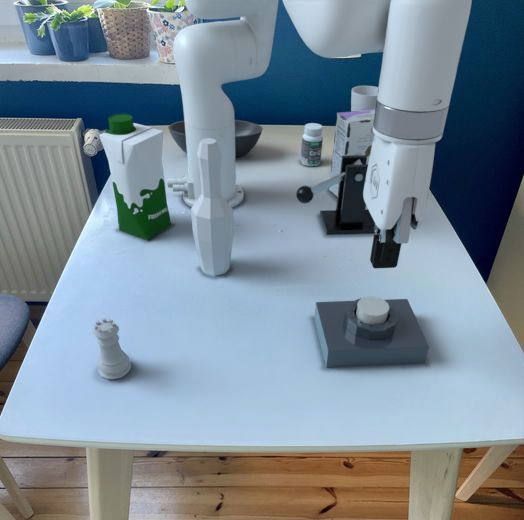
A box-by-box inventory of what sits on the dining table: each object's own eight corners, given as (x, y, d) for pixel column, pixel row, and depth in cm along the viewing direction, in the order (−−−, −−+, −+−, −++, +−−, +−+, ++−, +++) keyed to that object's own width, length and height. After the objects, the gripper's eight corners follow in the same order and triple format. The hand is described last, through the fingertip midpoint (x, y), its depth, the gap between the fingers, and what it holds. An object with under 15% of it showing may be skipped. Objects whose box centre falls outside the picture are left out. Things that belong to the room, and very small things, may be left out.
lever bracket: (326, 236, 101) (333, 170, 93) (319, 216, 107) (325, 152, 99) (378, 235, 102) (390, 169, 94) (368, 214, 108) (379, 151, 99)
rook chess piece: (100, 359, 75) (89, 314, 70) (133, 358, 76) (124, 313, 70) (96, 382, 72) (83, 336, 67) (130, 380, 72) (120, 335, 67)
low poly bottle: (217, 255, 96) (210, 129, 81) (241, 269, 93) (239, 141, 78) (189, 269, 93) (177, 140, 78) (213, 284, 89) (205, 153, 74)
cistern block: (326, 368, 75) (329, 340, 71) (314, 318, 83) (316, 292, 79) (424, 363, 76) (432, 336, 72) (403, 315, 84) (409, 288, 80)
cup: (376, 148, 134) (384, 97, 126) (344, 145, 135) (350, 94, 127) (377, 136, 140) (385, 87, 132) (347, 133, 141) (352, 84, 133)
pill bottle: (307, 168, 124) (310, 131, 119) (296, 160, 127) (298, 124, 122) (324, 164, 126) (328, 127, 120) (313, 157, 129) (316, 121, 124)
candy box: (385, 182, 119) (398, 104, 108) (398, 193, 115) (413, 114, 104) (327, 190, 116) (335, 110, 105) (339, 202, 112) (348, 121, 101)
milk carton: (143, 212, 107) (127, 107, 94) (179, 224, 104) (168, 117, 90) (112, 231, 102) (91, 122, 88) (148, 244, 98) (132, 133, 85)
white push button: (359, 325, 74) (361, 316, 73) (353, 306, 78) (354, 296, 76) (390, 324, 75) (393, 314, 73) (383, 305, 78) (385, 295, 77)
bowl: (261, 165, 125) (261, 138, 121) (166, 163, 125) (164, 136, 121) (263, 145, 134) (263, 120, 130) (175, 143, 134) (172, 117, 130)
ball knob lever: (301, 209, 100) (294, 195, 98) (299, 201, 102) (292, 187, 100) (367, 178, 97) (362, 163, 95) (363, 171, 99) (358, 155, 97)
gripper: (360, 98, 63) (343, 237, 76) (393, 145, 52) (367, 299, 64) (422, 97, 64) (396, 235, 76) (468, 144, 53) (428, 297, 65)
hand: (383, 264), depth 70 cm, fingers closed
